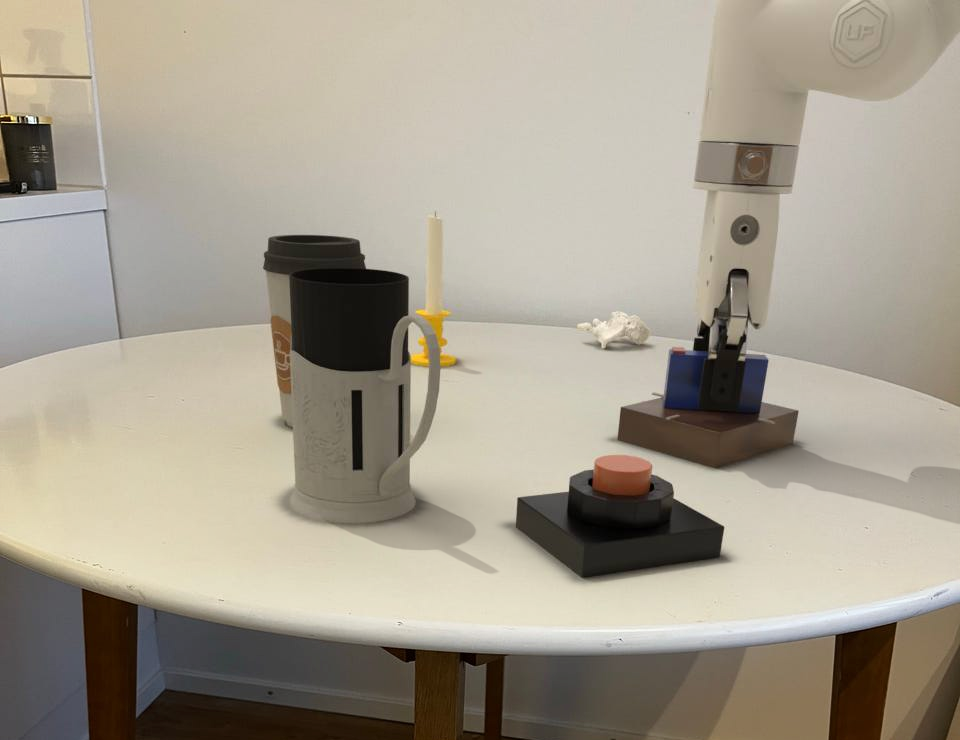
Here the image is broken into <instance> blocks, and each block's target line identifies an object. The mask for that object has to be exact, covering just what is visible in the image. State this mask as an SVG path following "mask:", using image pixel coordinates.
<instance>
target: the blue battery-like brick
mask: <svg viewBox="0 0 960 740" xmlns="http://www.w3.org/2000/svg"><path fill="white" fill-rule="evenodd" d="M708 356H709V352H707V351H693V350H690V349H689V350H688V349H685V347H683V346H671V348H669V350H668V355H667V365H666V372H665V380H664V388H663V395H664V396H663V404H664V408H677V409H693V410H701V409H700V408H699V406H698V400H699V393H700V385H701V378H702V371H703V364H704V358H708ZM745 361H746V364H745V371H744V377H743V383H742V390H741V396H740V402H739V408H738V410H737V411H735V412H740V413H755V414H760V410H761V404H762V402H763V397H764V392H765V391H764V390H765V384H766V379H767V373H768V367H769V358H768V357H767V356H766V354H756V353H746V357H745ZM708 411H713V410H708ZM724 412H728V411H724Z"/></svg>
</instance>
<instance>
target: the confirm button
mask: <svg viewBox="0 0 960 740" xmlns="http://www.w3.org/2000/svg"><path fill="white" fill-rule="evenodd" d="M593 470H594V473H593V483H592V487H593V488H594V489H596V490H597V491H601V492H605V493H609V494H616V495H630V496H634V495H643V494H647V493H649V491H650V483H651V474H652V473H653V464H652V463H651V462H650V461H649V460H647V459H644V458H641V457H638V456H634V455H626V454H609V455H607V454H606V455H602V456H599V457H597V458H596V459H595V460H594V464H593ZM652 475H653V474H652Z"/></svg>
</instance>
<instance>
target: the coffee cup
mask: <svg viewBox="0 0 960 740" xmlns="http://www.w3.org/2000/svg"><path fill="white" fill-rule="evenodd" d="M267 241H268V242H267V250H265V251H264V252H263V258H264V261H263V267H262V269H263V270H264V271H265V277H266V285H267V294H268V303H269V313H270V319H269V320H270V321H269V322H270V329H271V338H272V347H273V356H274V365H275V372H276V374H275V375H276V381H277V387H278V391H279V399H280V400H279V401H280V409H281V417H282V419H283V420H284V421H285V424H286V425H287V426H288V427H290V428H292V429H293V418H292V395H291V372H290V337H291V333H292V331H291V307H290V284H289V274H290V273H292V272H295V271H299V270H305V269H315V268H362V269H367V267H366V263H365V262H366V261H365V260H366V255H365V254H363V253H362V250H361V249H362V248H361V241H360V240H359V239H357V238H353V237H347V236H337V235H325V234H324V235H323V234H284V235H274V236H270V237H268V238H267Z"/></svg>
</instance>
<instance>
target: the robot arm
mask: <svg viewBox="0 0 960 740" xmlns="http://www.w3.org/2000/svg"><path fill="white" fill-rule="evenodd" d="M959 34H960V0H717V1H716V5H715V11H714V16H713V25H712V33H711V41H710V50H709V56H708V66H707V72H706V80H705V87H704V89H705V90H704V96H703V97H704V98H703V104H702V105H703V106H702V112H701V113H702V115H701V122H700V129H699V130H700V131H699V141H698V146H697V153H696V159H695V160H696V161H695V168H694V177H693V183H692V184H693V185H692V188H693V189H697V190H698V189H699V190H704V191H707V193H706V199H705V206H704V207H705V208H704V215H703V222H702V229H701V237H700V244H699V252H698V263H697V272H696V283H695V297H694V298H695V299H694V307H695V311H696V312H697V315H698V316H699V319H698V322H697V328H696V337H694V338H693V345H692V346H693V347H692V351H707V352H709V356H708V358H704V364H703V371H702V378H701V385H700V393H699V400H698V406H699V408H700V409H701V410H713V411H728V412H735V411H737V410H738V408H739V402H740V396H741V390H742V383H743V377H744V371H745V364H746V361H745V357H746V354H747V346H748V345H747V344H748V330H749V329H748V327H749V323H750V325H751V326H752V328H754V329H755V330H761V329H763V328H764V327H765V325H766V324H767V320H768V312H769V307H770V306H769V305H770V296H771V289H772V281H773V271H774V266H775V265H774V264H775V257H776V249H777V241H778V231H779V230H778V229H779V221H780V220H779V218H780V204H781V203H780V201H781V195H788V194H789V195H790V194H792V193H793V187H794V186H793V185H794V181H795V176H796V175H795V174H796V170H797V164H798V158H799V151H800V144H801V138H802V133H803V127H804V120H805V114H806V109H807V102H808V97H809V91H815V92H820V93H821V92H822V93H826V94H832V95H836V96H841V97H846V98H849V99H854V100H861V101H865V102H882V101H883V102H884V101H887V100H892V99H894V98H896V97H899V96H900V95H902V94H904V93H906V92H907V91H909V90H910V89H911V88H912V87H913V86H915V85H916V84H917V83H918V82H919V81H920V80H922V78H923V77H924V76H925V75H926V74H927V73H928V72H929V70H931V68H932V67H933V66H934V65H935V63H936V62H938V60H939V59H940V58H941V56H942V55H943V54H944V53H945V52H946V50H947V49H948V48H949V46H950V45H951V44H952V43H953V42H954V40H955V39H956V38H957V36H958V35H959Z"/></svg>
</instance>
